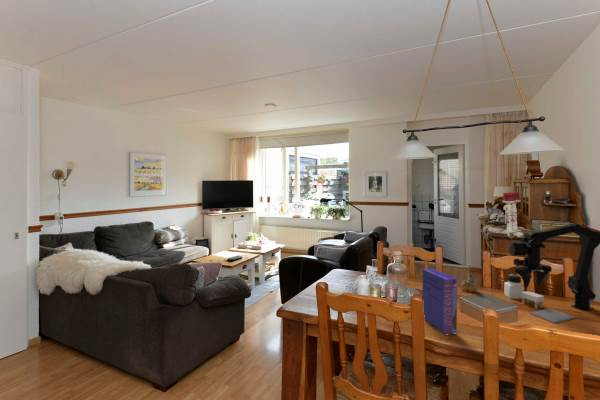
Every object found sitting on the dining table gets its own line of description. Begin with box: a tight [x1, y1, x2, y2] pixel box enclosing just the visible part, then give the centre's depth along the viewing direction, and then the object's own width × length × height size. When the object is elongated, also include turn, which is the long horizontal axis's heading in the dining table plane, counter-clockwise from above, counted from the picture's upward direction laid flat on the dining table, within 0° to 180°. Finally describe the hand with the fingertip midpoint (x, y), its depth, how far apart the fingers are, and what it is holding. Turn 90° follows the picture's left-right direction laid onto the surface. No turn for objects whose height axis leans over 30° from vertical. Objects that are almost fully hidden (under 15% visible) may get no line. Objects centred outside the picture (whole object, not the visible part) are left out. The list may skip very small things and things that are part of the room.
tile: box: [529, 308, 576, 324], centre depth 150 cm, size 14×11×1 cm
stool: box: [521, 290, 545, 310], centre depth 162 cm, size 5×8×6 cm, turn 19°
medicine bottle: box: [503, 274, 525, 300], centre depth 175 cm, size 7×7×12 cm
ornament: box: [460, 274, 478, 294], centre depth 185 cm, size 8×6×10 cm
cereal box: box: [422, 267, 458, 335], centre depth 141 cm, size 17×5×24 cm, turn 12°
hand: (532, 285), depth 162 cm, fingers open, 9 cm apart
